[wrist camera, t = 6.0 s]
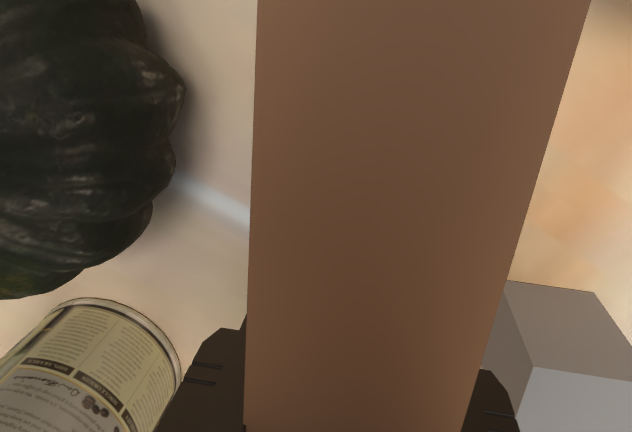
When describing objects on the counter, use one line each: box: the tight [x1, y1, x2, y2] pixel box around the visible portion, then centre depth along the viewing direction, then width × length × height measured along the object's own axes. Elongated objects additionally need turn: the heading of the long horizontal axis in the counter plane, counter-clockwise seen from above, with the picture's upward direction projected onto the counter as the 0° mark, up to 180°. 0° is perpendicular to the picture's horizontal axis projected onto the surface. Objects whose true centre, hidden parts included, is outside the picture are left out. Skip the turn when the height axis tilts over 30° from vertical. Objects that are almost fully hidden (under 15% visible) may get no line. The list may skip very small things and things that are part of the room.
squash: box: [0, 0, 185, 300], centre depth 20 cm, size 14×15×15 cm
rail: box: [243, 0, 591, 432], centre depth 9 cm, size 3×26×4 cm, turn 175°
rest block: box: [481, 280, 632, 432], centre depth 24 cm, size 5×5×7 cm
